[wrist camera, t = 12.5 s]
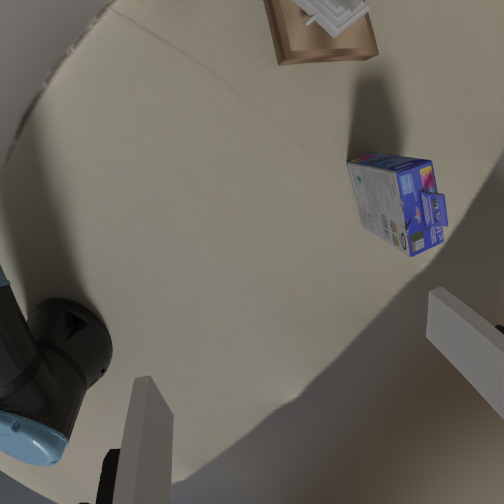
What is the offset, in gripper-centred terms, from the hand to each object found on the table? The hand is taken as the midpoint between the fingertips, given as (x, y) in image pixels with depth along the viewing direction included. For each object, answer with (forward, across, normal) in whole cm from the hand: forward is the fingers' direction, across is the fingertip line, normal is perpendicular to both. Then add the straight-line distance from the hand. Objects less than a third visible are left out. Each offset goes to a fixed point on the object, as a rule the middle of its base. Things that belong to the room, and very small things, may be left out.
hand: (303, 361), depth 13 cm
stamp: (+25, -15, -23) cm, 37 cm away
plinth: (+29, -16, -23) cm, 40 cm away
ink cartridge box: (+29, -18, +1) cm, 34 cm away
